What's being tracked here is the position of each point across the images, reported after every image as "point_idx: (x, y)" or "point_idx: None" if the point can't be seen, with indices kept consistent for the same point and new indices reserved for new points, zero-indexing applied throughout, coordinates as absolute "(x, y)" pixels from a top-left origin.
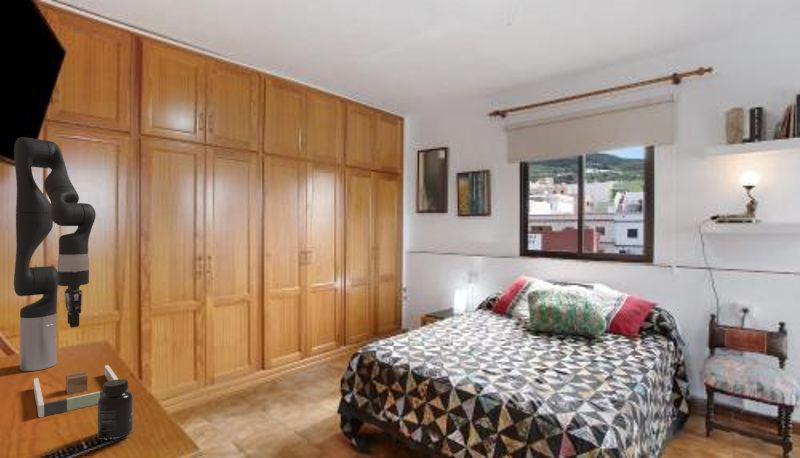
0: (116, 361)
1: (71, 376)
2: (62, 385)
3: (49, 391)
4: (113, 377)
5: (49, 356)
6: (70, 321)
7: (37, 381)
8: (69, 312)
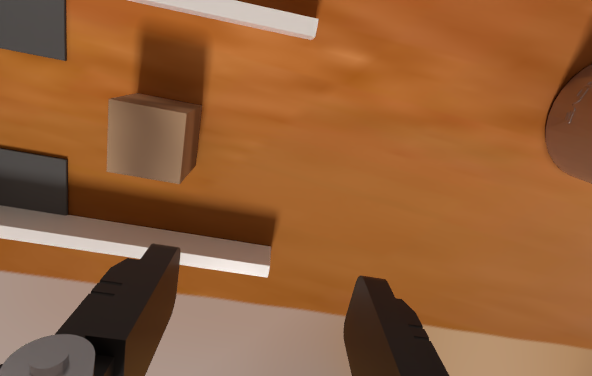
0: None
1: (139, 122)
2: (268, 113)
3: (231, 58)
4: (78, 239)
5: (584, 156)
6: (127, 279)
7: (257, 18)
8: (35, 367)
